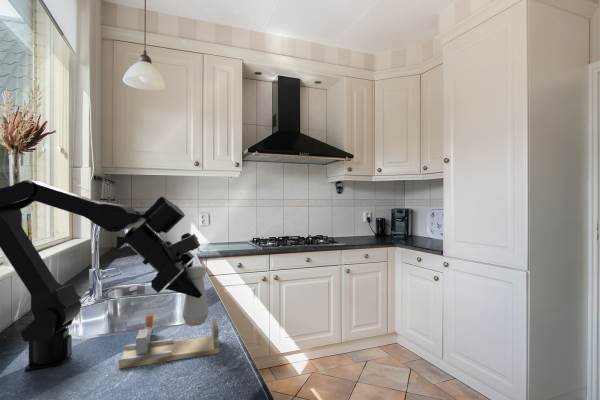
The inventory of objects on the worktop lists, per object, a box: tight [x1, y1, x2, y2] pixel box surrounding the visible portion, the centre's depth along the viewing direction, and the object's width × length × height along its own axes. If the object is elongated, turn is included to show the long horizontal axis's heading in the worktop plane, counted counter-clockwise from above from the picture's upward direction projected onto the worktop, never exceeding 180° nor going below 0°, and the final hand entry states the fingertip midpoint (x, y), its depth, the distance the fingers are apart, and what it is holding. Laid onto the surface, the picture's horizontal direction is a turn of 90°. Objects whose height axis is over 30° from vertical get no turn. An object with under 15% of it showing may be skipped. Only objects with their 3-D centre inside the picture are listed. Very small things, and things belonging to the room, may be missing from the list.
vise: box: [118, 318, 220, 369], centre depth 72 cm, size 20×7×5 cm, turn 109°
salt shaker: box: [182, 265, 209, 327], centre depth 74 cm, size 6×6×13 cm
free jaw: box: [135, 312, 155, 356], centre depth 75 cm, size 2×16×4 cm, turn 19°
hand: (201, 294), depth 74 cm, fingers closed on salt shaker, 3 cm apart
